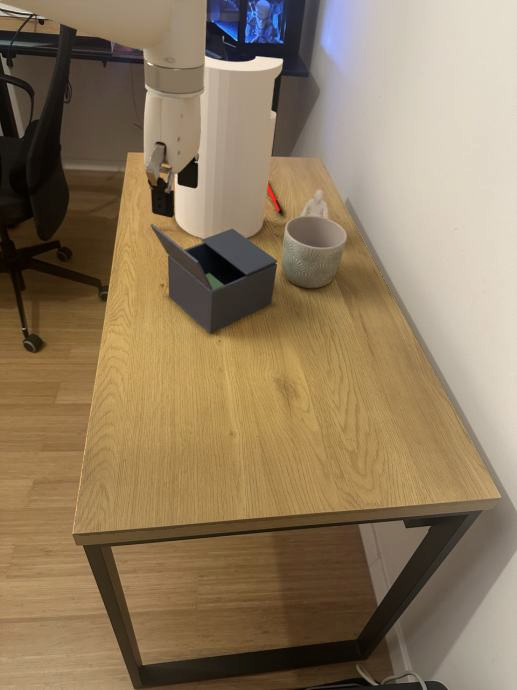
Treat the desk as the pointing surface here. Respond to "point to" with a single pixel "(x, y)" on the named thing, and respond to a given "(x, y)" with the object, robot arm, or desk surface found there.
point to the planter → (312, 250)
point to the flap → (182, 257)
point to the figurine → (316, 206)
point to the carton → (224, 280)
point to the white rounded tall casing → (232, 149)
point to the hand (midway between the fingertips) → (175, 199)
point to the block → (214, 281)
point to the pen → (274, 200)
